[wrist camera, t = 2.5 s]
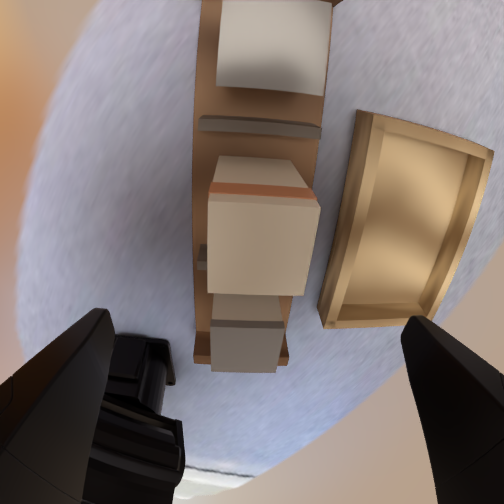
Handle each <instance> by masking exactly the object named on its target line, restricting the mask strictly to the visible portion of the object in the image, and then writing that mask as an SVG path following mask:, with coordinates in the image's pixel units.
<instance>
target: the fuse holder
mask: <svg viewBox="0 0 504 504" xmlns="http://www.w3.org/2000/svg"><path fill="white" fill-rule="evenodd" d="M319 1H324V2H329V3H332V8H331V21H330V34H329V45H328V55H327V66H326V75H325V84H324V93H323V96H318V95H312V94H305V93H297V92H289V91H280V90H270V89H258V88H244V87H223V86H216V74H217V61H218V48H219V36H220V25H221V14H222V4H223V0H202V6H201V16H200V26H199V38H198V50H197V64H196V80H195V98H194V121H193V157H192V238H193V275H194V299H195V319H196V337H195V345H194V353H193V358H194V363H195V364H211V345H210V322H211V319H212V310H213V298H214V293H208V288H207V233H208V194H209V188H210V184H211V182H213V178H214V174H215V170H216V166H217V162H218V159H219V156H238V157H255V158H269V159H281V160H291V162H292V163H293V165H294V166H295V168H296V169H297V171H298V173H299V174H300V176H301V177H302V179H303V180H304V182H305V183H306V185H307V186H308V188H311V190H312V186H313V179H314V172H315V166H316V159H317V152H318V145H319V140H320V138H321V131H322V128H321V122H322V114H323V106H324V98H325V89H326V80H327V71H328V61H329V51H330V40H331V28H332V15H333V7H334V6H336V5H337V4H338V3H340V2H341V1H343V0H319ZM278 297H279V302H280V308H281V314H282V320H283V321H284V325H285V332H286V327H287V323H288V318H289V313H290V308H291V303H292V298H293V296H281V295H278ZM285 332H284V337H283V341H282V346H281V350H280V355H279V360H278V364H277V366H287V364H288V360H289V353H288V347H287V341H286V335H285Z"/></svg>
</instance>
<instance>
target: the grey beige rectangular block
mask: <svg viewBox="0 0 504 504" xmlns="http://www.w3.org/2000/svg"><path fill="white" fill-rule="evenodd" d="M284 332H285V325H284V321H283V320H282V314H281V308H280V302H279V297H278V295H246V294H220V293H214V298H213V310H212V319H211V322H210V345H211V371H213V372H244V373H276V369H277V364H278V360H279V355H280V350H281V346H282V341H283V337H284Z"/></svg>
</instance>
